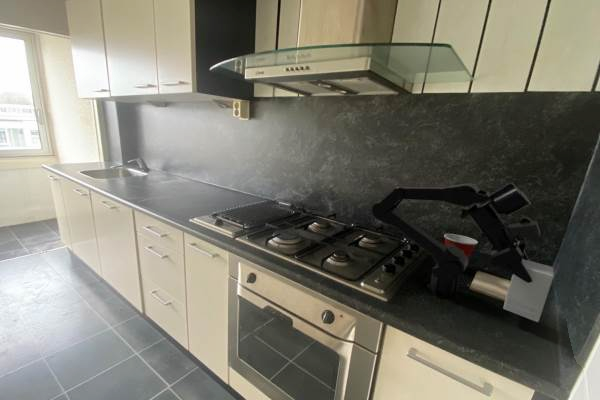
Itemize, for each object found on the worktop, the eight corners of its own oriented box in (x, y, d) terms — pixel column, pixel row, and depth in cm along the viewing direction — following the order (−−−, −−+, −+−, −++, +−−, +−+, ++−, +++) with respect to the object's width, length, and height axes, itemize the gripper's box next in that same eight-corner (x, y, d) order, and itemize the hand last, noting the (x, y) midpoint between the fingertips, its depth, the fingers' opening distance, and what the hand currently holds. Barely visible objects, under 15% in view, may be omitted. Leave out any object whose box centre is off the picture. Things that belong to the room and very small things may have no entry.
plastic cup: (470, 265, 104) (476, 236, 101) (472, 278, 94) (480, 245, 92) (438, 258, 109) (444, 229, 106) (438, 269, 99) (444, 238, 96)
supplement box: (538, 323, 67) (554, 277, 63) (502, 308, 71) (514, 265, 68) (540, 310, 72) (554, 267, 69) (506, 297, 77) (517, 256, 74)
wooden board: (529, 310, 78) (530, 307, 78) (469, 288, 87) (469, 286, 87) (530, 289, 89) (531, 287, 89) (477, 272, 98) (477, 270, 98)
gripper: (519, 215, 62) (571, 278, 57) (524, 202, 75) (566, 252, 71) (472, 237, 69) (515, 295, 64) (484, 222, 82) (520, 268, 78)
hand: (530, 276), depth 69 cm, fingers closed on supplement box, 7 cm apart
